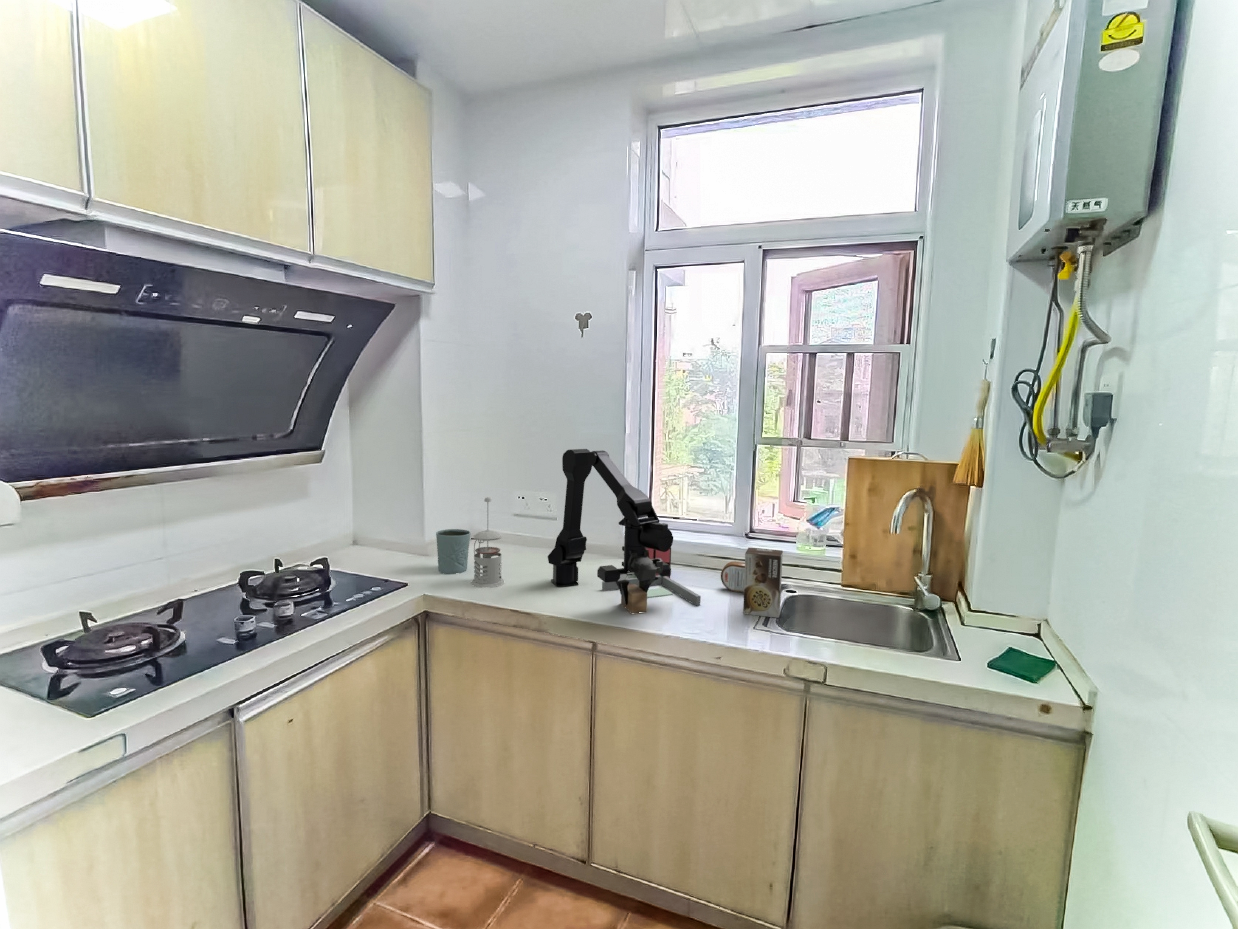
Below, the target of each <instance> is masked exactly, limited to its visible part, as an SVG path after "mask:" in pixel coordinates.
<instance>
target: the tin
mask: <svg viewBox="0 0 1238 929" xmlns="http://www.w3.org/2000/svg"><path fill="white" fill-rule="evenodd" d="M744 578H745V562H741V561H736V560H735V561H730V562H728V563H726V564H725V565H724V566H723V568H722V570H721V572H720V581H721V583H722V585H723V586H724V587H725V588H726V589H727V590H728V591H730V592H731V591H732V592H736V593H741V594H742V593H743V594H744Z"/></svg>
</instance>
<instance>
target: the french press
mask: <svg viewBox="0 0 1238 929" xmlns="http://www.w3.org/2000/svg"><path fill="white" fill-rule="evenodd" d="M484 502H486V503H487V510H486V512H487V515H486V516H487V527H486V528H487V529H486V530H482V531H479V532H478V533H475V534H474V535H473V538H474V539H475V541H474V543H473V544H474V545H473V553H474V554H473V555H474V556H473V559H474V560H473V564H474V566H473V569H474V571H473V573H474V574H473V579H472V580H471V581H472V582H471V581H470V585H471V584H472V585H474V586H473V587H475V586H476V588H482V587H490V588H495V587H500V586H502V585H504V584H505V583H504V581H505V579H503V577H502V553H500V551H501V548H500V547H497V546H496V547H495V546H489V542H491V541H497V540H500V539H502V537H503V535H502V534H501V533H500V532H498V531H495V530H490V529H489V503H490V502H492V499H491V497H488V496H487V497H485V498H484ZM477 542H478V547H477V548H475V547H476V543H477ZM485 542H486V546H481V544H484V543H485ZM481 555H482V556H481ZM481 566H482V567H481ZM501 584H502V585H501ZM472 585H471V586H472Z"/></svg>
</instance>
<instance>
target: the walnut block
mask: <svg viewBox="0 0 1238 929" xmlns="http://www.w3.org/2000/svg"><path fill="white" fill-rule="evenodd" d="M620 604H621V606H622V607H624V608H625V607H626V608H625V609H626V610H627V611H628V610H629V611H630V612H631V613H637V614H640V613H639V612H647V611H648V610H647V609H648V608H647V607H648V598H647V593H646V592H645V591H644V590H642V589H641V588H640V587H638V586H637V585H636V584H632V585H628V603H627V605H625V604H624V601H623V599H622V596H621V595H620ZM629 611H628V612H629ZM631 613H630V614H631Z"/></svg>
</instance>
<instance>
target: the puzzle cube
mask: <svg viewBox="0 0 1238 929" xmlns="http://www.w3.org/2000/svg"><path fill="white" fill-rule="evenodd" d="M646 549H647V550H649V557H650V559H658V558H661V559H662V561H663V562H665V563H667V564H669V565H670V567H671V565H672V564H671V562H672V547H671V548H670V549H669V550H668V551H666V552H662V551H658V550H654V549H650V548H646ZM671 568H672V567H671ZM658 575H659V574H658V573H657V574H656V576H658ZM667 577H668V578H670V579H671V576H667Z"/></svg>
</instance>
